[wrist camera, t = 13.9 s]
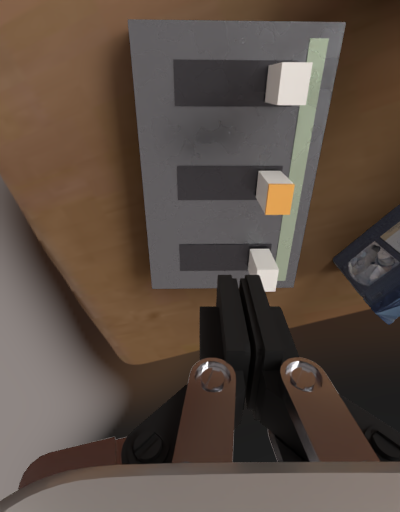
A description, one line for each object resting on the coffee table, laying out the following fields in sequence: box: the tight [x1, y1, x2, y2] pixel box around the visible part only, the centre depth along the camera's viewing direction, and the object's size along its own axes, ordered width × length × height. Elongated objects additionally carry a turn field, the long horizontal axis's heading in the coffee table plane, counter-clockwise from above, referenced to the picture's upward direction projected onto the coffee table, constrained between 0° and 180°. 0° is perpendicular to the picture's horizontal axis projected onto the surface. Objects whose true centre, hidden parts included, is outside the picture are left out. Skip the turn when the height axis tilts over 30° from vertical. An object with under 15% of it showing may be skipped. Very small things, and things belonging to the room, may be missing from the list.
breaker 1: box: [248, 249, 279, 292], centre depth 30 cm, size 2×2×4 cm
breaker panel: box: [128, 20, 346, 289], centre depth 29 cm, size 16×24×3 cm, turn 0°
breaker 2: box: [265, 62, 313, 105], centre depth 22 cm, size 2×2×4 cm
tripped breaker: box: [256, 171, 295, 215], centre depth 26 cm, size 2×2×4 cm
